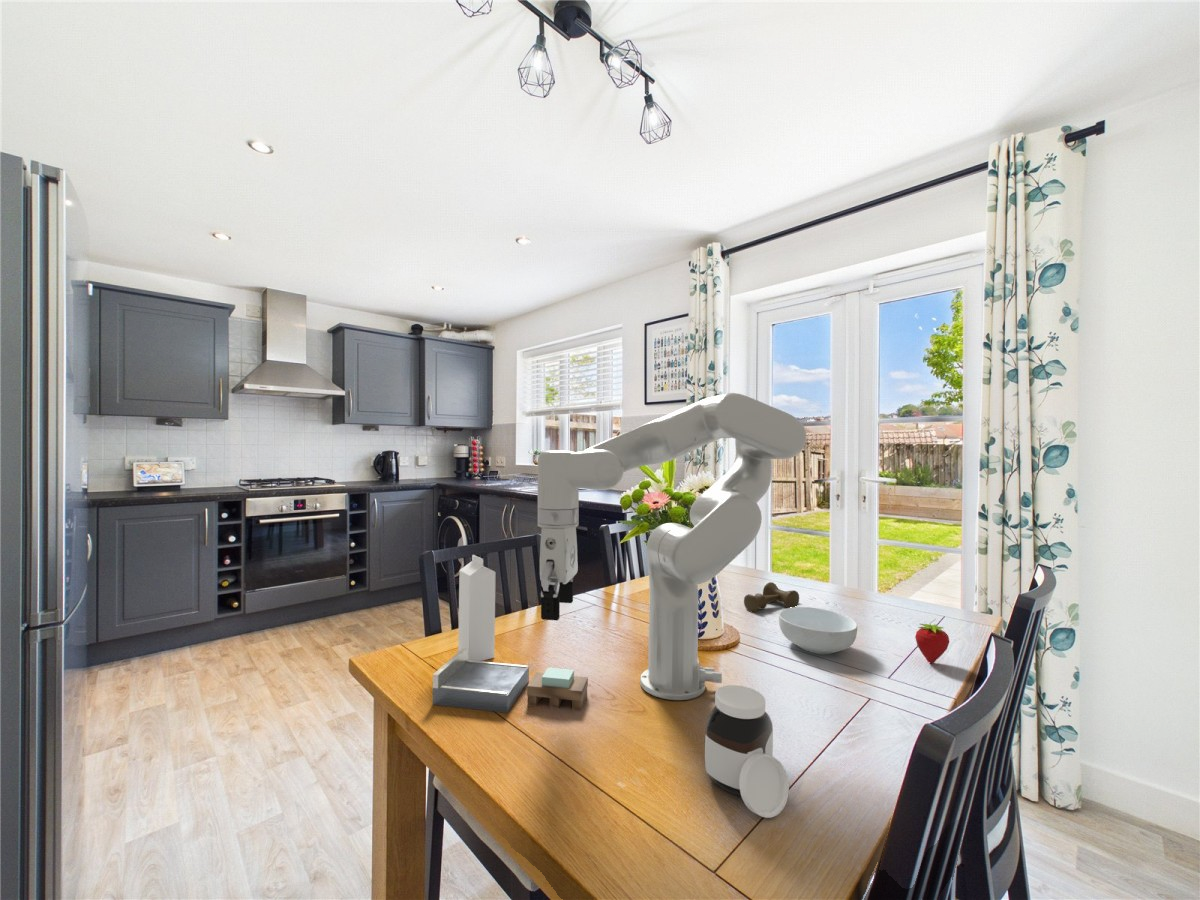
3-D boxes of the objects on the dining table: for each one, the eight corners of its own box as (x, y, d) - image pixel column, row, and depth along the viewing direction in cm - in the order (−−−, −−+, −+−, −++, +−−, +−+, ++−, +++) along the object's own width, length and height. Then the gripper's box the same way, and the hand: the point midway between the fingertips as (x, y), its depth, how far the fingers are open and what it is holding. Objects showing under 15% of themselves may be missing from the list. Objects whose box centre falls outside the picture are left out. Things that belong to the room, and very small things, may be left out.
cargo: (573, 677, 93) (574, 669, 93) (568, 687, 89) (569, 679, 89) (547, 675, 94) (548, 667, 94) (541, 685, 90) (541, 676, 90)
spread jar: (730, 752, 76) (731, 676, 76) (805, 785, 69) (806, 701, 69) (688, 791, 67) (690, 705, 67) (770, 835, 60) (772, 738, 60)
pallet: (587, 696, 93) (587, 677, 93) (581, 711, 88) (581, 691, 88) (536, 690, 95) (536, 672, 95) (526, 705, 89) (527, 685, 89)
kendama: (736, 608, 148) (781, 597, 158) (762, 619, 139) (808, 606, 150) (736, 588, 147) (782, 578, 158) (762, 598, 139) (808, 587, 149)
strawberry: (955, 664, 109) (956, 619, 109) (937, 672, 105) (938, 624, 105) (926, 654, 114) (927, 611, 114) (908, 661, 110) (909, 616, 110)
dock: (528, 681, 98) (529, 653, 98) (507, 712, 86) (507, 681, 86) (462, 674, 101) (462, 648, 101) (432, 704, 89) (432, 674, 89)
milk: (468, 664, 106) (469, 561, 105) (457, 655, 110) (458, 555, 110) (495, 657, 109) (496, 557, 109) (483, 648, 114) (484, 552, 114)
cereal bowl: (779, 656, 112) (779, 624, 112) (777, 631, 128) (778, 603, 128) (862, 667, 107) (863, 634, 107) (850, 640, 123) (851, 611, 123)
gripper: (566, 525, 82) (565, 628, 82) (587, 512, 99) (587, 597, 99) (522, 523, 84) (522, 625, 84) (551, 511, 101) (551, 595, 101)
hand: (557, 610), depth 91 cm, fingers open, 9 cm apart
